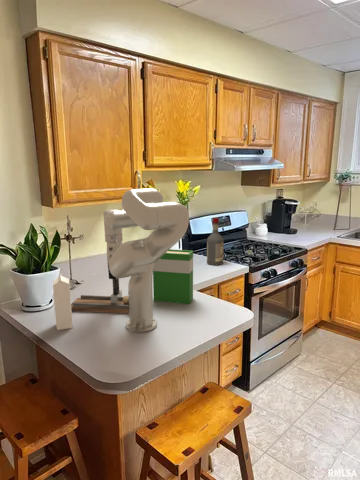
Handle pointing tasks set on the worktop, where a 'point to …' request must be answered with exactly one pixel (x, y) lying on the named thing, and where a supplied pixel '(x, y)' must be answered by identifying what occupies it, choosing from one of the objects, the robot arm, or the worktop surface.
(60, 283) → the milk
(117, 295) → the press jaw
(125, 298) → the walnut
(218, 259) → the liquor
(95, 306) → the press base
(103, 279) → the worktop surface
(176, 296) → the hardback book
